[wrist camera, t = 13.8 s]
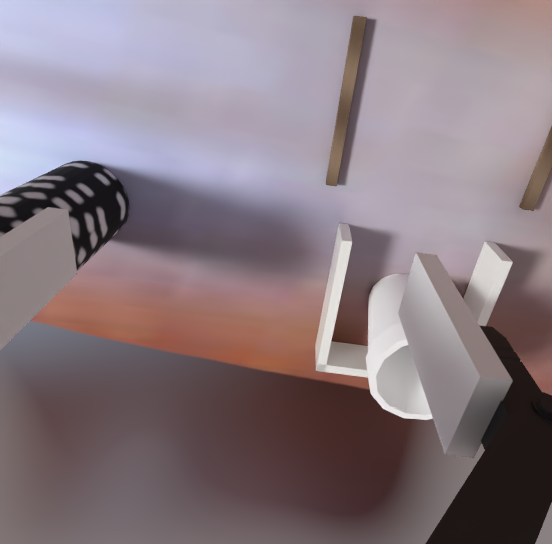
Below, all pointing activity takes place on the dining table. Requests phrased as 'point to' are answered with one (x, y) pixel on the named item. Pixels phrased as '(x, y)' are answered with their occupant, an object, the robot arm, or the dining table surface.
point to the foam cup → (392, 353)
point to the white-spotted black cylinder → (72, 204)
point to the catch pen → (353, 357)
